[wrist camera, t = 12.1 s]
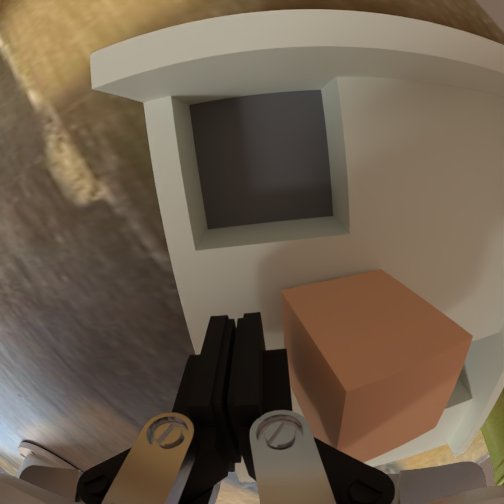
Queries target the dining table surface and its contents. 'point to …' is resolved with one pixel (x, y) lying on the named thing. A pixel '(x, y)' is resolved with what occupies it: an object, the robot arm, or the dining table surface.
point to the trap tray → (329, 172)
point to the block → (369, 361)
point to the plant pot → (496, 438)
